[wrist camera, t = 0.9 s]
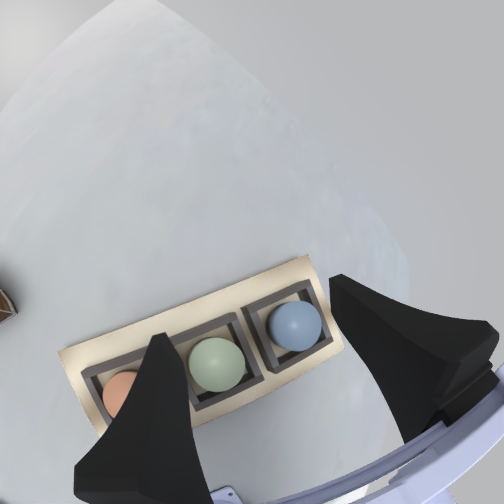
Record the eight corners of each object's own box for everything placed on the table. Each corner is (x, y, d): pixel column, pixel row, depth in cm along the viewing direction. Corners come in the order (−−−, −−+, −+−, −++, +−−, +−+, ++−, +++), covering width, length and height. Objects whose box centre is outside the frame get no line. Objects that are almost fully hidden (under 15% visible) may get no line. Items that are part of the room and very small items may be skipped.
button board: (331, 346, 29) (357, 349, 24) (114, 444, 20) (108, 465, 16) (296, 258, 29) (318, 249, 25) (66, 348, 21) (49, 354, 17)
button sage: (246, 373, 22) (253, 377, 20) (200, 394, 20) (204, 400, 19) (226, 328, 22) (232, 329, 20) (179, 348, 21) (180, 351, 19)
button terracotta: (166, 408, 19) (166, 415, 17) (121, 423, 18) (119, 431, 16) (143, 362, 20) (142, 366, 18) (98, 378, 18) (93, 383, 16)
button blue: (317, 336, 24) (328, 337, 23) (278, 357, 23) (287, 360, 21) (300, 294, 25) (310, 292, 23) (260, 313, 23) (268, 313, 21)
